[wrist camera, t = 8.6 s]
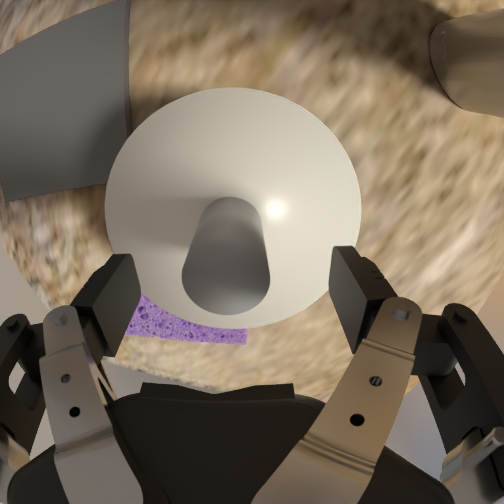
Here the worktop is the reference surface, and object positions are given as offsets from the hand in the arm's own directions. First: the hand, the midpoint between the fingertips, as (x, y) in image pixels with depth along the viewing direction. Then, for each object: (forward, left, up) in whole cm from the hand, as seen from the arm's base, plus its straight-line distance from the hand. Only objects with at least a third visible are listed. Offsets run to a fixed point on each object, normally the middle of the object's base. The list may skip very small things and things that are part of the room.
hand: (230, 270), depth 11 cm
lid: (0, 0, -5) cm, 5 cm away
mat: (+15, -9, -11) cm, 21 cm away
